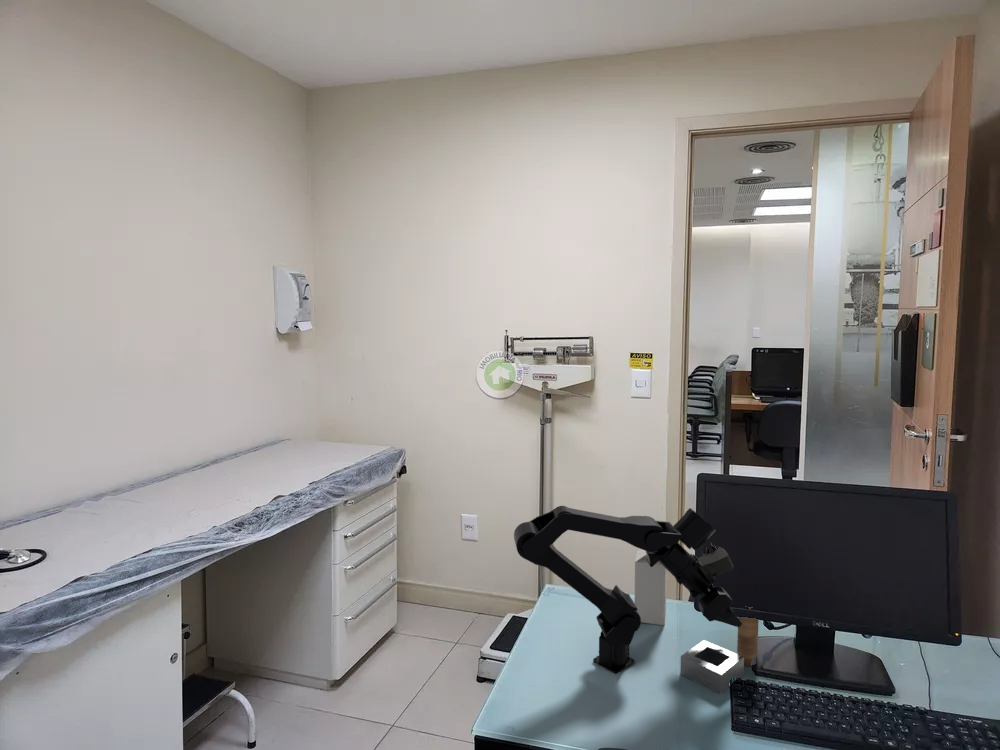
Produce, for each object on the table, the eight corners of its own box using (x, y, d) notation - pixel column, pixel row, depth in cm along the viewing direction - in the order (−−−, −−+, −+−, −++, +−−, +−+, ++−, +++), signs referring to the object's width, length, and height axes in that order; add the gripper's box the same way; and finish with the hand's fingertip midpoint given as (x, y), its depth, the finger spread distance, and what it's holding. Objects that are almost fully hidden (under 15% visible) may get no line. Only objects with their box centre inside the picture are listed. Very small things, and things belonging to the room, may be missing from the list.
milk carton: (634, 622, 151) (635, 545, 149) (636, 608, 158) (637, 535, 156) (664, 626, 149) (666, 548, 147) (665, 612, 156) (667, 538, 154)
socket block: (721, 693, 123) (721, 674, 123) (680, 674, 130) (680, 655, 129) (743, 675, 129) (743, 656, 129) (703, 657, 136) (703, 639, 135)
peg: (751, 668, 132) (753, 609, 130) (733, 660, 134) (735, 602, 133) (760, 661, 134) (762, 603, 133) (742, 653, 137) (744, 596, 136)
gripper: (722, 556, 122) (778, 610, 123) (697, 522, 141) (746, 569, 142) (680, 594, 124) (736, 648, 124) (661, 556, 142) (709, 603, 143)
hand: (733, 614), depth 133 cm, fingers open, 9 cm apart
